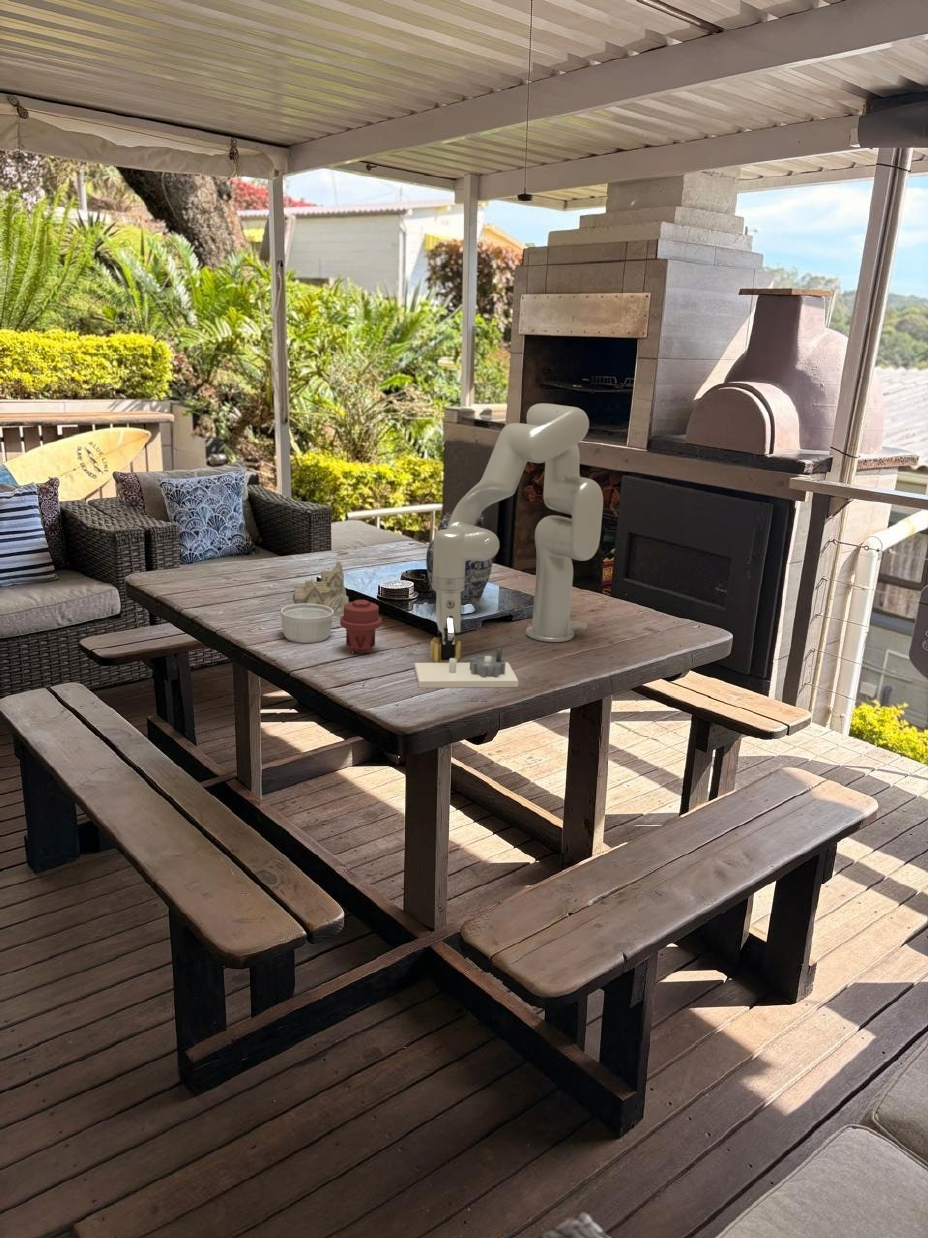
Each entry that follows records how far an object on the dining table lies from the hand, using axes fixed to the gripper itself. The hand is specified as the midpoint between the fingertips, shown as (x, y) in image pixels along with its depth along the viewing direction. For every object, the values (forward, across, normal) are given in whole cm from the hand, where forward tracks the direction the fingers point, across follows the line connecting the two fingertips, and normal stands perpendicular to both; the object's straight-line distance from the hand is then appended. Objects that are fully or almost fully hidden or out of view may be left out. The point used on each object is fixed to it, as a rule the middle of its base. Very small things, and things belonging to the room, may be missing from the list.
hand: (445, 653), depth 219 cm
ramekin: (+2, +17, +33) cm, 37 cm away
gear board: (+1, -13, -3) cm, 13 cm away
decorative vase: (+1, +41, -8) cm, 42 cm away
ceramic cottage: (+2, +42, +29) cm, 51 cm away
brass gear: (+1, 0, 0) cm, 1 cm away
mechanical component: (+1, +6, +20) cm, 21 cm away
